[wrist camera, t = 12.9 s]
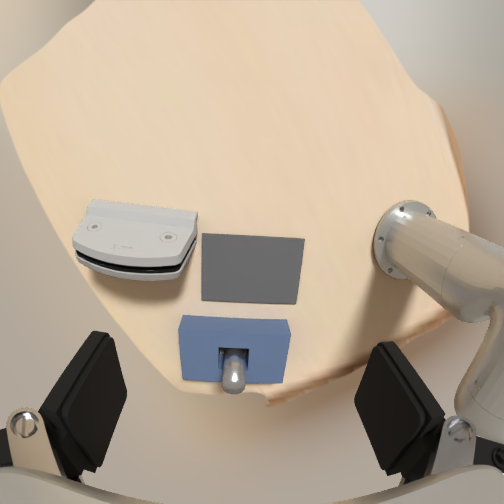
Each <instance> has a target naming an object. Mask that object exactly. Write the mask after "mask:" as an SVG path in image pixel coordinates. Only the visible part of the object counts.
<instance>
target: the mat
mask: <svg viewBox="0 0 504 504" xmlns="http://www.w3.org/2000/svg"><path fill="white" fill-rule="evenodd" d="M304 241H305V239H301V238H284V237H266V236H248V235H228V234H208V233H202V300H210V301H229V302H251V303H283V304H296V301H297V294H298V287H299V280H300V273H301V265H302V257H303V249H304Z"/></svg>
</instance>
